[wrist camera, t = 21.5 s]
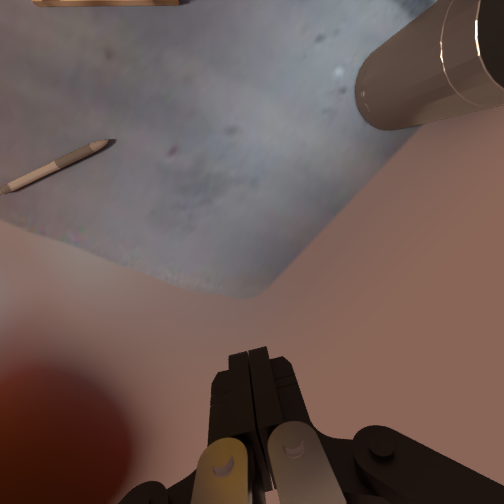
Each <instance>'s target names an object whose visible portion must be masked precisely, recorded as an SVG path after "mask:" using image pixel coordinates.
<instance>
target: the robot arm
mask: <svg viewBox="0 0 504 504" xmlns="http://www.w3.org/2000/svg"><path fill="white" fill-rule="evenodd" d="M355 99H356V104H357V107H358V109H359V112H360V114H361V115H362V117H363V118H364V119H365V121H367V122H368V123H369V124H370V125H371V126H373V127H375V128H377V129H381V130H396V129H401V128H405V127H410V126H415V125H419V124H424V123H428V122H432V121H437V120H441V119H446V118H450V117H454V116H459V115H463V114H467V113H472V112H476V111H480V110H485V109H488V108H493V107H498V106H502V105H504V0H438V1H437V2H435V3H434V4H433V5H432V6H430V7H429V8H428V9H426V10H425V11H424V12H423V13H421V14H420V15H419V16H418V17H416V18H415V19H414V20H413V21H411V22H410V23H409V24H408V25H406V26H405V27H404V28H403V29H401V30H400V31H399V32H398V33H396V34H395V35H394V36H392V37H391V38H390V39H389V40H387V41H386V42H385V43H384V44H382V45H381V46H380V47H379V48H377V49H376V50H375V51H374V52H372V53H371V54H370V55H369V57H368V58H367V59H366V60H365V61H364V63H363V65H362V66H361V68H360V70H359V73H358V76H357V79H356V85H355ZM248 352H249V355H248ZM248 352H247V351H245V352H241V353H237V354H233V355H230V356H229V370H226V371H222V372H218V373H217V375H216V377H215V378H214V380H213V382H212V387H211V401H210V406H211V407H210V417H209V432H208V433H209V434H208V446H207V448H206V449H205V450H204V452H203V453H202V455H201V457H200V459H199V461H198V465H197V468H196V470H195V471H194V472H193V473H191V474H190V475H189V476H187V477H186V478H185V479H183V480H181V481H180V482H178V483H176V484H175V485H173V486H171V487H170V488H168V489H166V488H165V487H164V485H163V484H162V483H160V482H157V481H148V482H145V483H142V484H140V485H138V486H136V487H135V488H133V489H132V490H131V491H130V492H129V493H127V494H126V496H125V497H124V498H123V499H122V500H121V501H120V502H119V503H118V504H266V499H265V492H267V491H271V490H273V489H272V482H271V477H272V481H273V484H274V488H275V489H277V492H278V496H279V500H280V504H504V486H503V485H501V484H499V483H497V482H495V481H493V480H491V479H489V478H487V477H485V476H483V475H481V474H479V473H477V472H476V471H473V470H471V469H470V468H468V467H466V466H463V465H462V464H460V463H458V462H456V461H454V460H452V459H450V458H448V457H446V456H444V455H442V454H440V453H438V452H436V451H434V450H432V449H430V448H428V447H426V446H424V445H423V444H421V443H419V442H417V441H415V440H413V439H411V438H409V437H407V436H405V435H403V434H401V433H399V432H397V431H395V430H393V429H390V428H388V427H385V426H379V425H373V426H367V427H365V428H363V429H361V430H360V431H358V432H357V433H356V435H355V436H354V438H353V440H349V439H337V438H332V437H329V436H326V435H324V434H322V433H321V432H319V431H318V430H317V429H316V428H315V427H314V426H313V424H312V423H311V421H310V418H309V415H308V412H307V409H306V406H305V403H304V400H303V397H302V395H301V391H300V388H299V385H298V382H297V379H296V377H295V373H294V371H293V368H292V365H291V363H290V362H289V361H288V360H286V359H285V358H284V357H283V356H282V357H278V358H274V359H269V355H268V351H267V347H266V346H265V347H261V348H257V349H253V350H249V351H248ZM270 474H271V475H270Z"/></svg>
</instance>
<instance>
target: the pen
mask: <svg viewBox="0 0 504 504" xmlns="http://www.w3.org/2000/svg"><path fill="white" fill-rule="evenodd" d="M108 141H109V140H99V141H96V142H93V143H91V144H88V145H86V146H84V147H82V148H80V149H78V150H76V151H74V152H71V153H69V154H67V155H65V156H63V157H61V158H59V159H57V160H55V161H53V162H51V163H49V164H47V165H45V166H43V167H41V168H39V169H37V170H35V171H33V172H31V173H29V174H26V175H24V176H22V177H20V178H18V179H16V180H14V181H12V182H10V183H8V184H6V185H4V186H2V187H1V188H0V194H7V193H10V192H12V191H14V190H17V189H20V188H21V187H23V186H25V185H27V184H29V183H31V182H33V181H35V180H37V179H39V178H42V177H44V176H46V175H48V174H50V173H52V172H54V171H56V170H59V169H61V168H63V167H65V166H68V165H70V164H72V163H74V162H76V161H78V160H80V159H82V158H84V157H86V156H89V155H91V154H93V153H95V152H96V151H98V150H100V149H101V148H103V147H104V146H105V145H106V144H107V143H108Z"/></svg>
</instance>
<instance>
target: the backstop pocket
mask: <svg viewBox="0 0 504 504" xmlns="http://www.w3.org/2000/svg"><path fill="white" fill-rule="evenodd" d="M31 1H32V2H33V3H34V4H35V5H37V6H38V7H62V6H168V5H179V0H31Z"/></svg>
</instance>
